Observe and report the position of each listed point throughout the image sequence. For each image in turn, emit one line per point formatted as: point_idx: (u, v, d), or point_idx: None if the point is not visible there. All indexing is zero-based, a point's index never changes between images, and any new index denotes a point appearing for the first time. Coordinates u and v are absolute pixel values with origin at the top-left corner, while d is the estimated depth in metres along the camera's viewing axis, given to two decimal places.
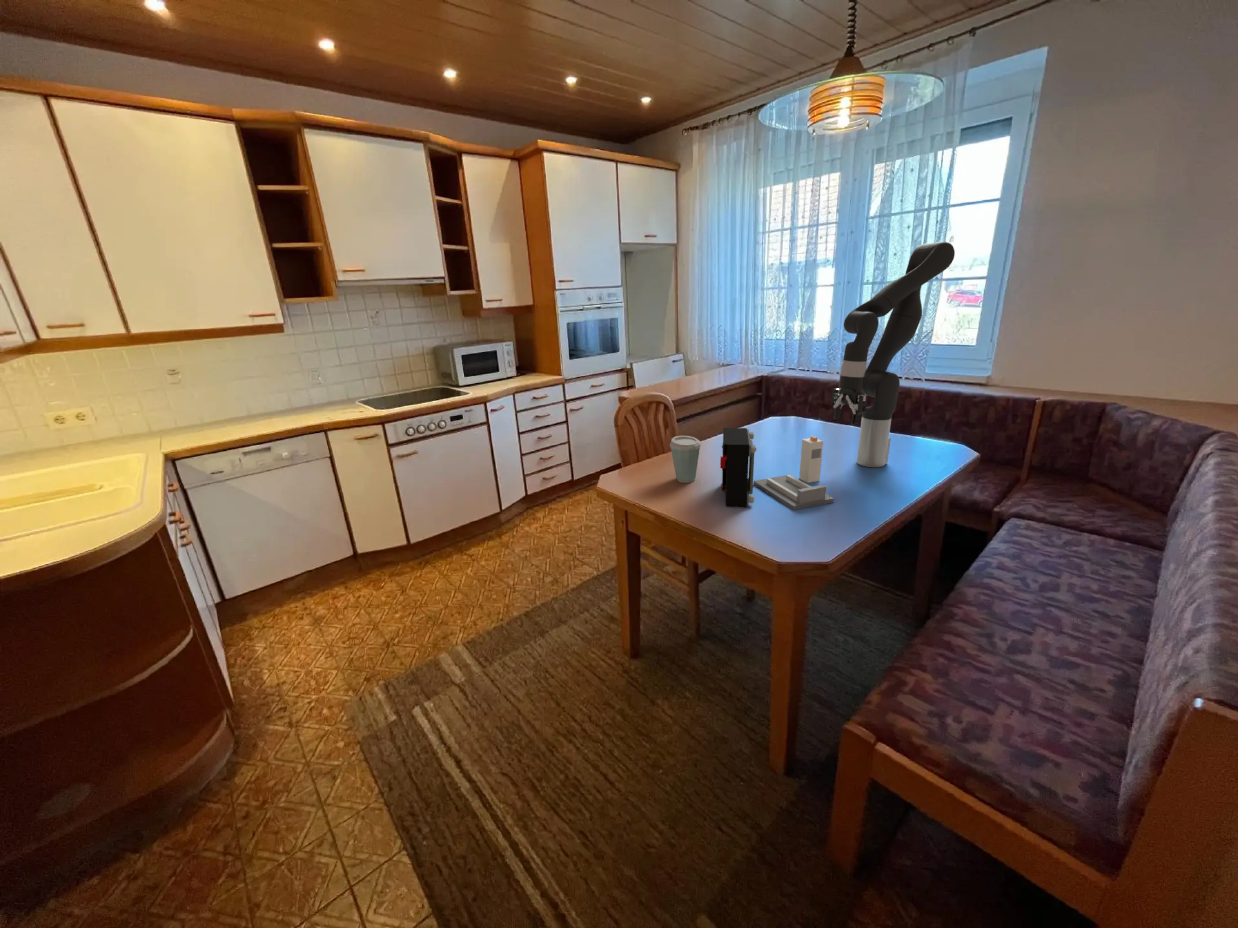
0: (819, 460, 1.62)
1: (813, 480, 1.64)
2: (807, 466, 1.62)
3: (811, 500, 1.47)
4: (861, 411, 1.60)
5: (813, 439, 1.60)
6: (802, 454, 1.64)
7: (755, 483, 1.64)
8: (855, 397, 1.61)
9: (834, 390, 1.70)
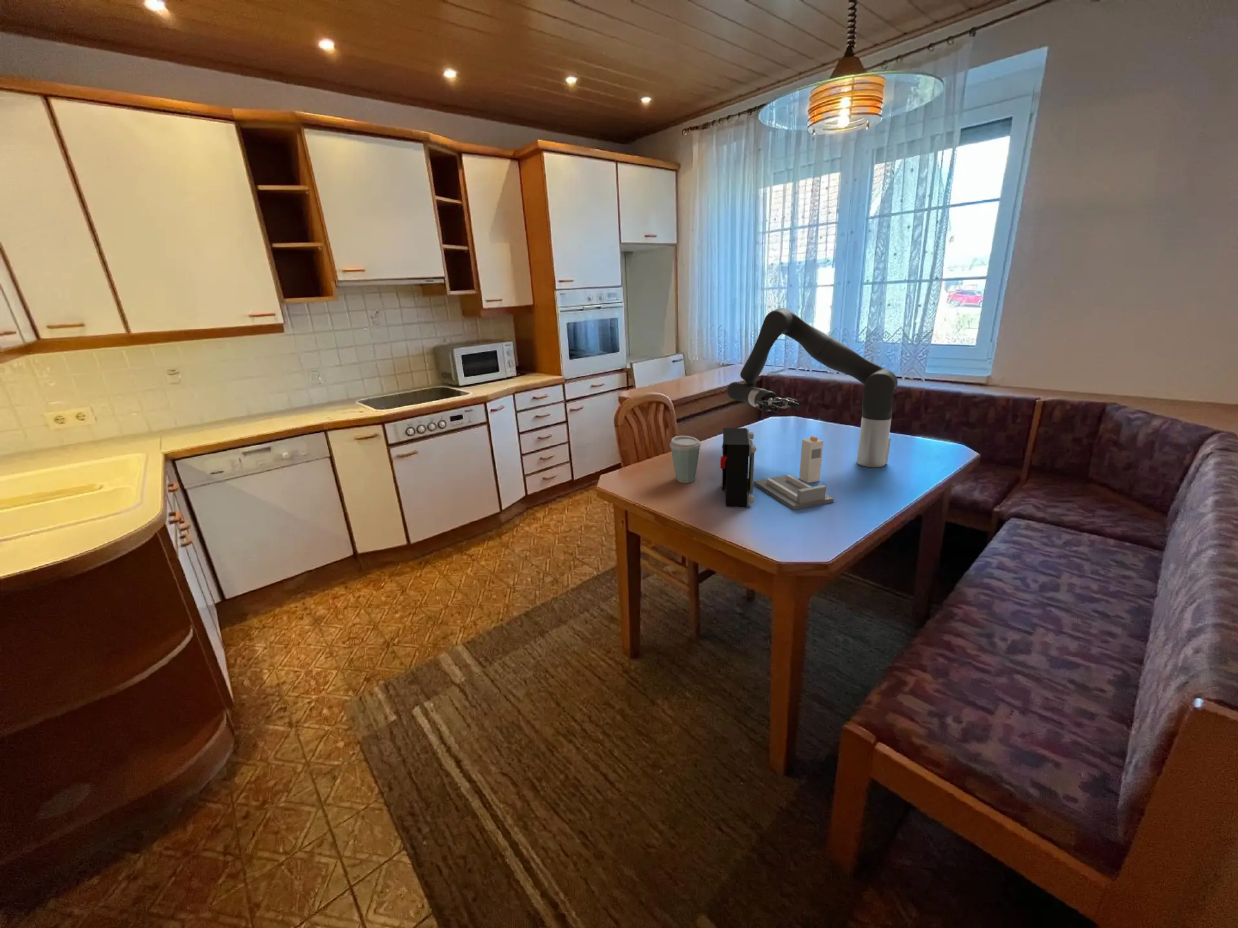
0: (819, 460, 1.62)
1: (813, 480, 1.64)
2: (807, 466, 1.62)
3: (811, 500, 1.47)
4: (762, 408, 1.75)
5: (813, 439, 1.60)
6: (802, 454, 1.64)
7: (755, 483, 1.64)
8: None
9: None
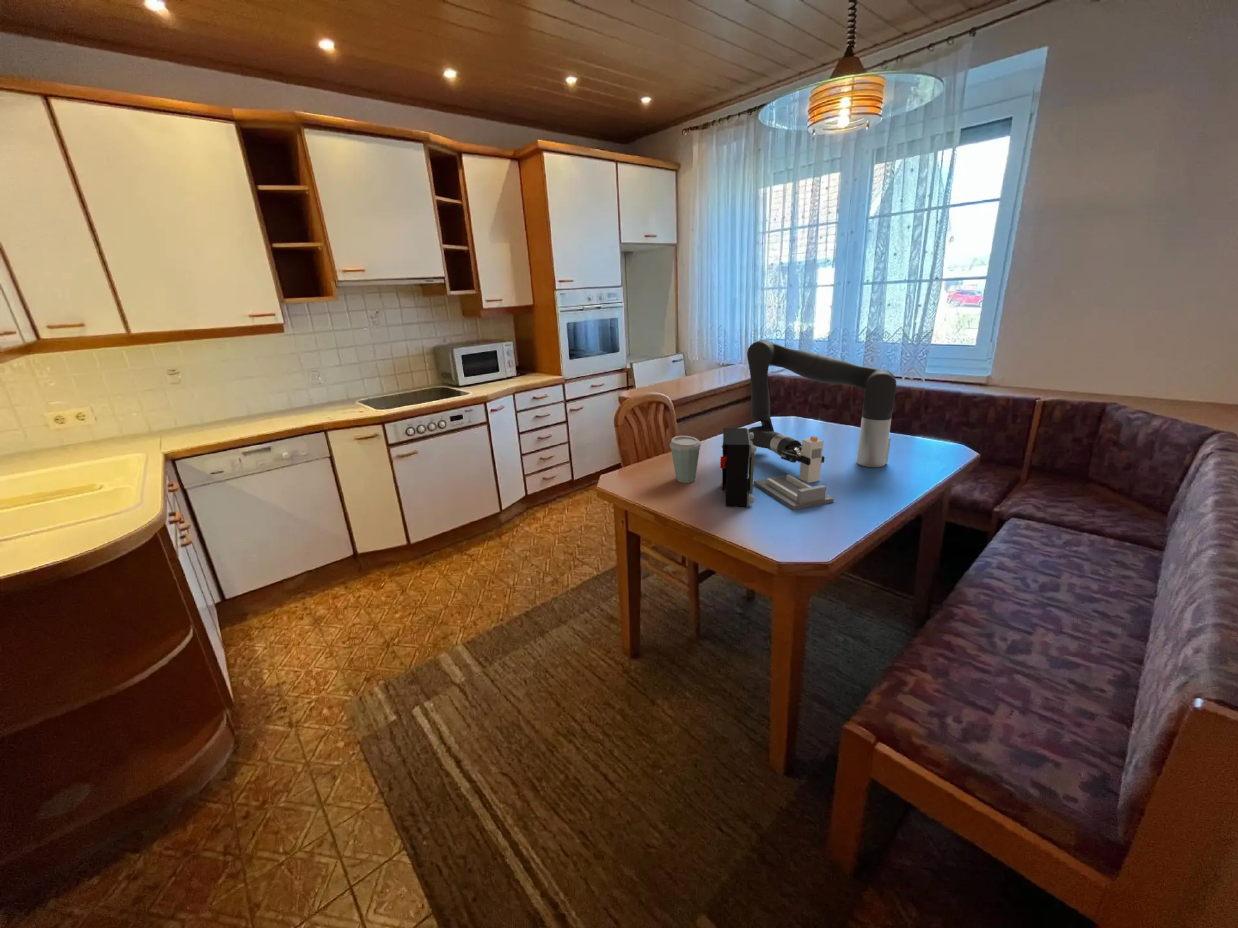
0: (819, 460, 1.62)
1: (813, 480, 1.64)
2: (807, 466, 1.62)
3: (811, 500, 1.47)
4: (792, 460, 1.65)
5: (813, 439, 1.60)
6: (802, 454, 1.64)
7: (755, 483, 1.64)
8: None
9: None
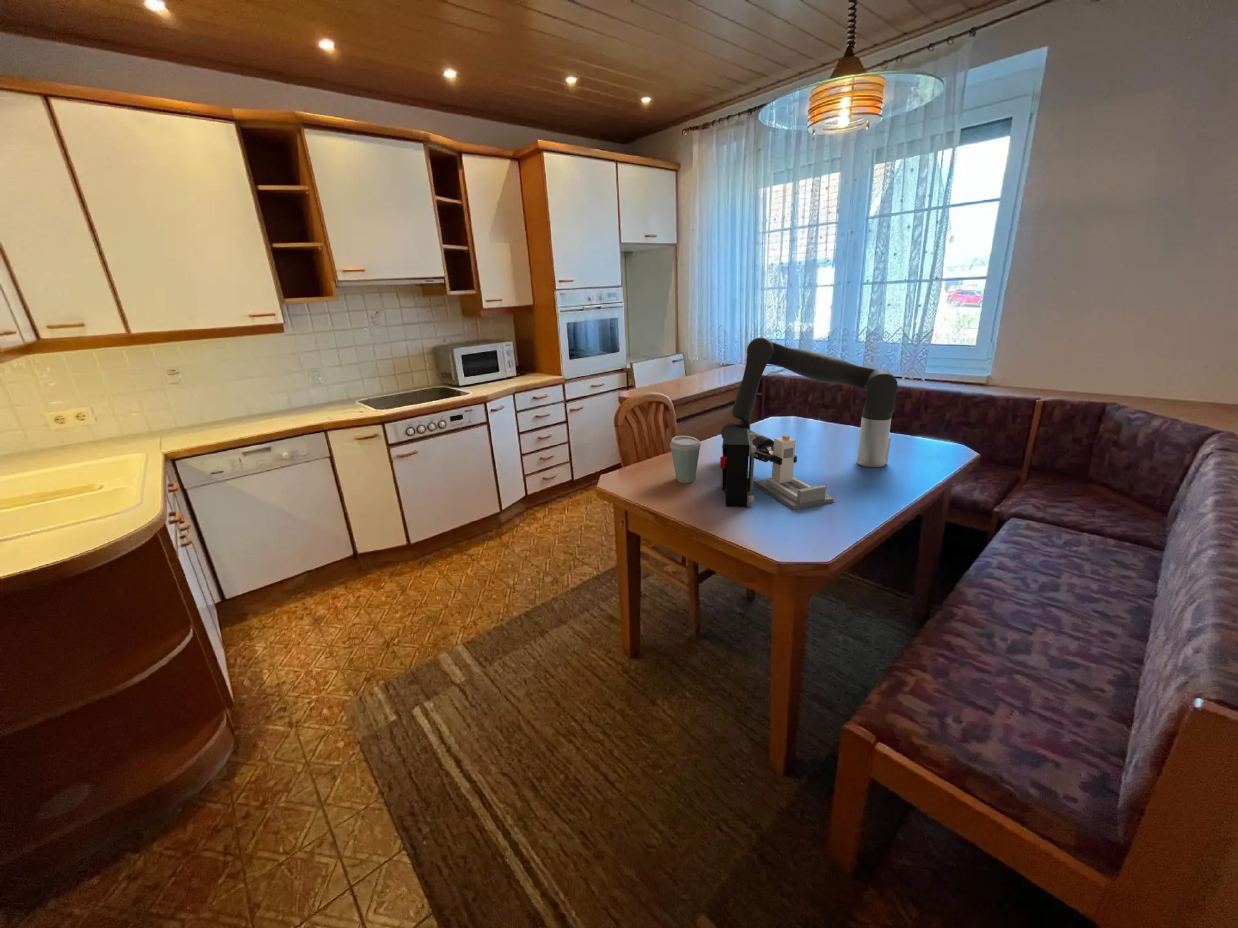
0: (791, 460, 1.57)
1: (785, 480, 1.58)
2: (779, 466, 1.57)
3: (811, 500, 1.47)
4: (764, 459, 1.59)
5: (785, 438, 1.54)
6: (774, 453, 1.58)
7: (755, 483, 1.64)
8: None
9: None
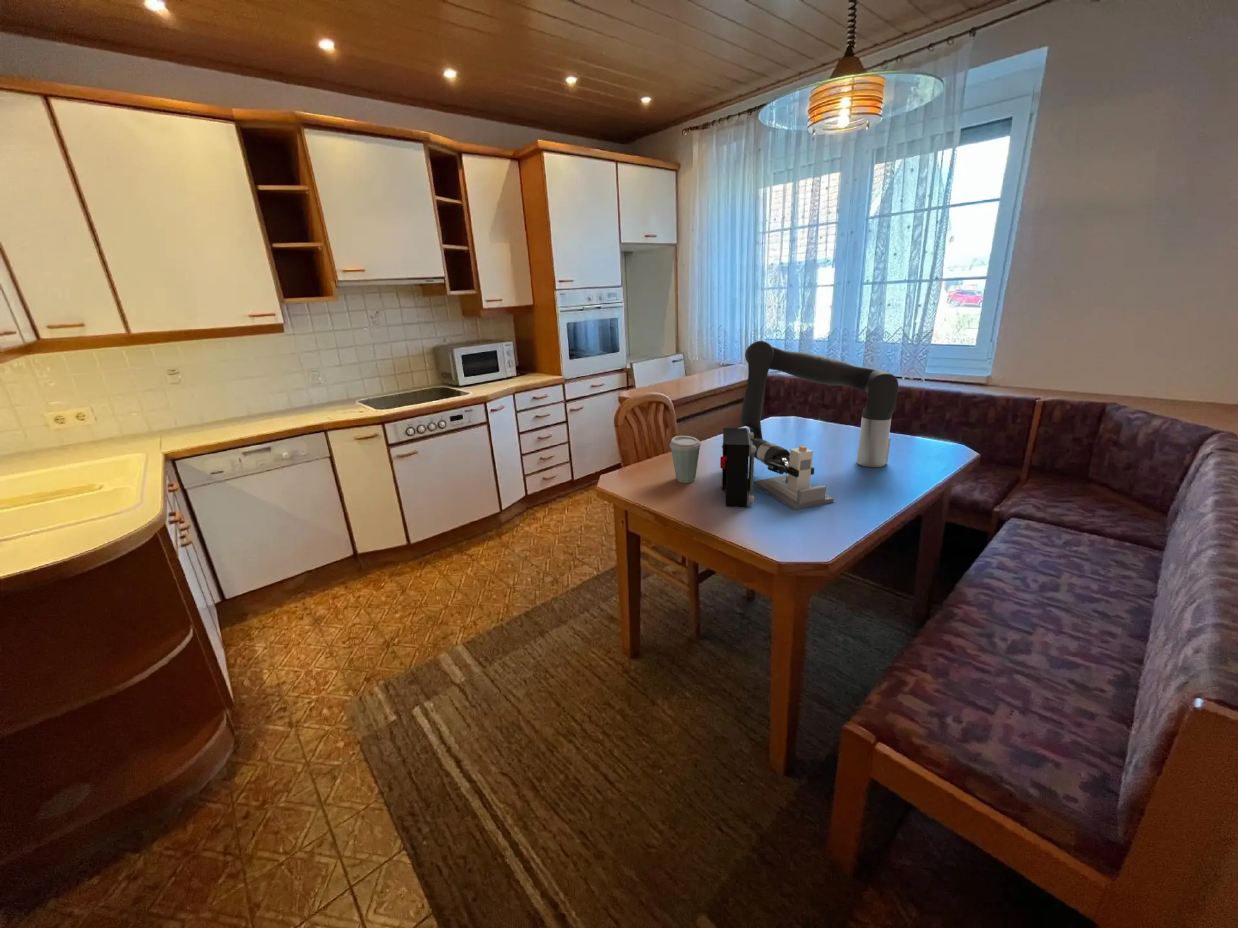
0: (808, 472, 1.49)
1: None
2: (795, 479, 1.49)
3: (811, 500, 1.47)
4: (779, 471, 1.52)
5: (802, 449, 1.47)
6: (790, 465, 1.51)
7: (755, 483, 1.64)
8: None
9: None
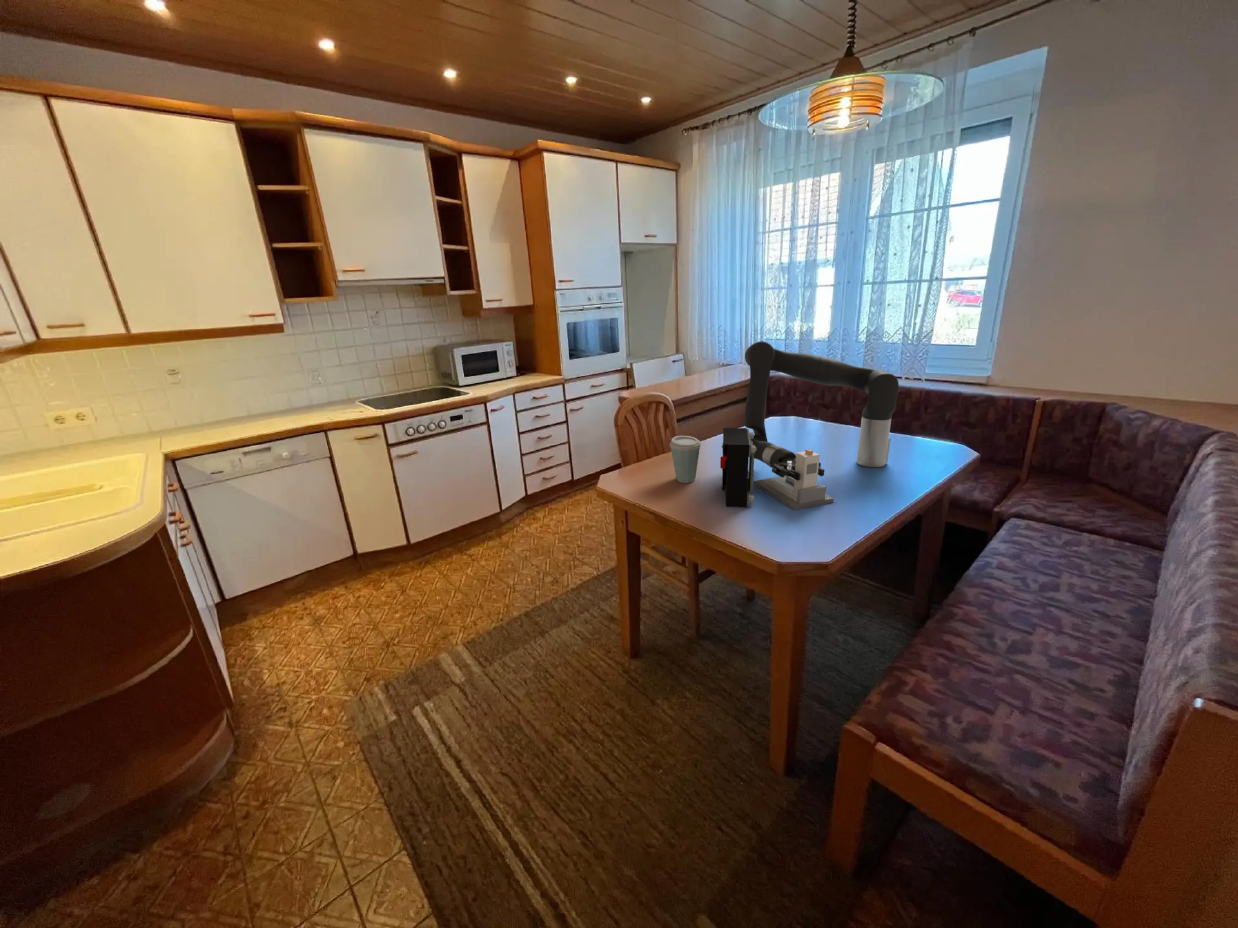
0: (815, 476, 1.47)
1: None
2: (802, 483, 1.47)
3: (811, 500, 1.47)
4: (780, 474, 1.49)
5: (808, 452, 1.45)
6: (796, 469, 1.48)
7: (755, 483, 1.64)
8: None
9: None
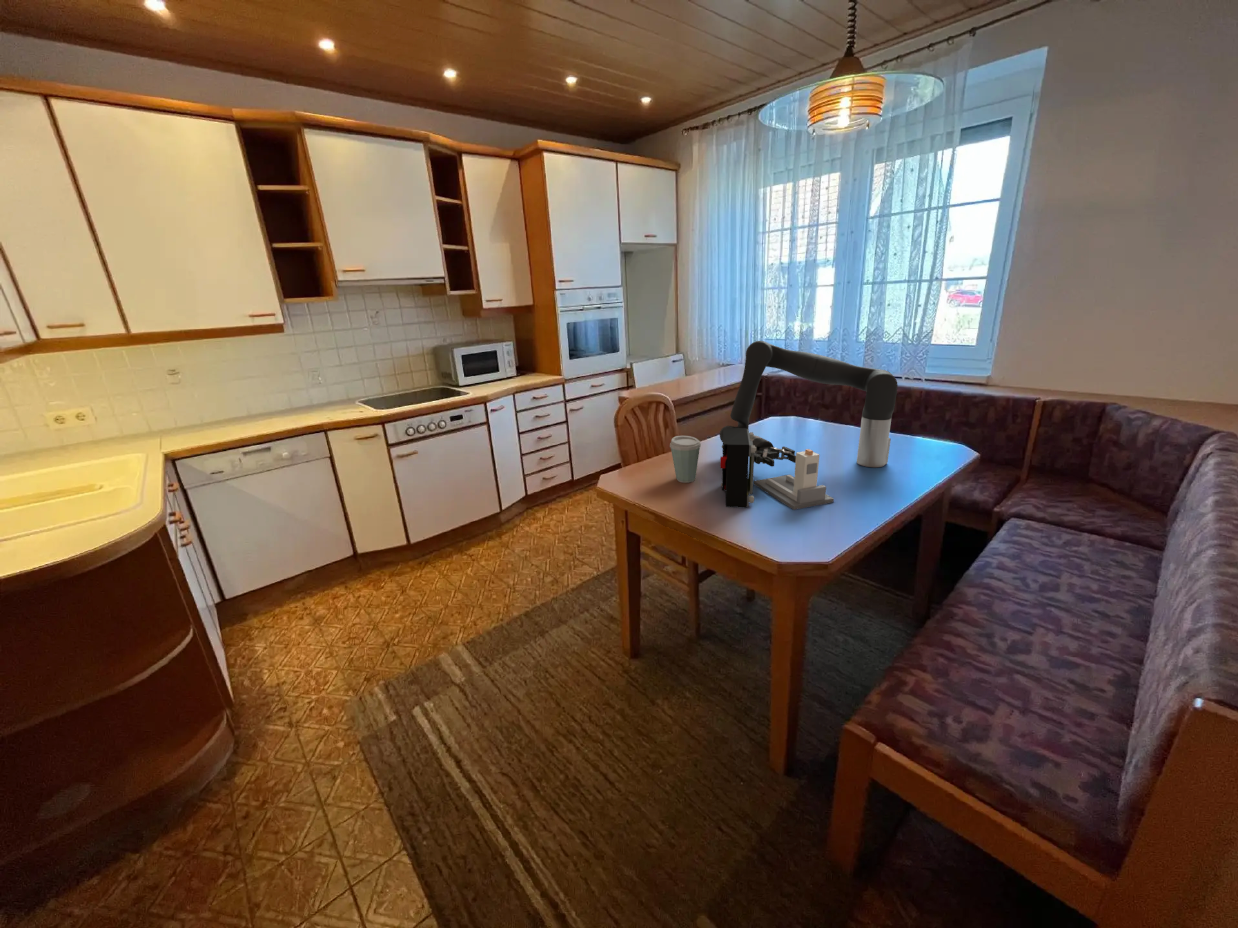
0: (815, 475, 1.47)
1: None
2: (802, 483, 1.47)
3: (811, 500, 1.47)
4: (756, 461, 1.61)
5: (808, 452, 1.45)
6: (796, 469, 1.48)
7: (755, 483, 1.64)
8: None
9: None
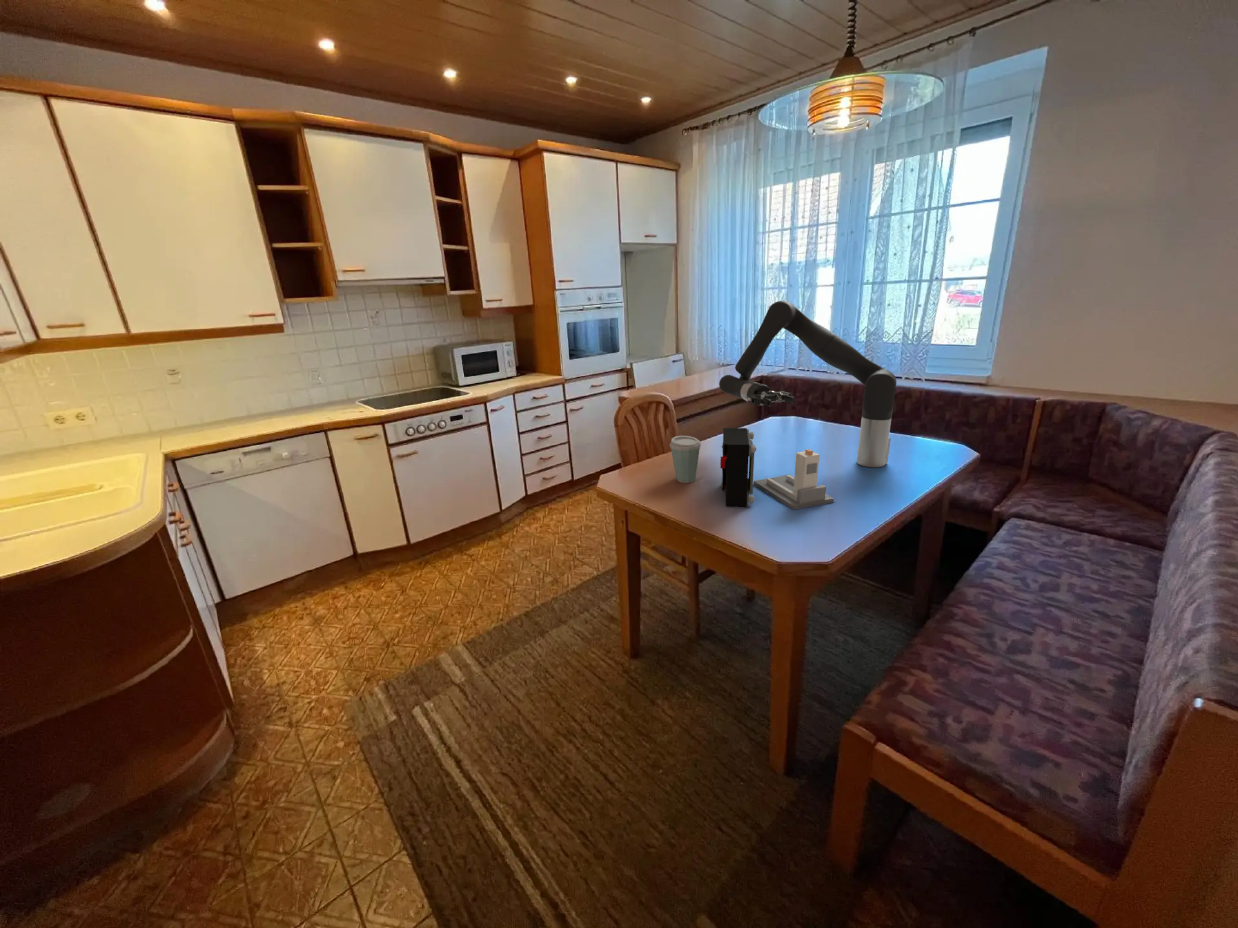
0: (815, 475, 1.47)
1: None
2: (802, 483, 1.47)
3: (811, 500, 1.47)
4: (754, 402, 1.66)
5: (808, 452, 1.45)
6: (796, 469, 1.48)
7: (755, 483, 1.64)
8: None
9: None
